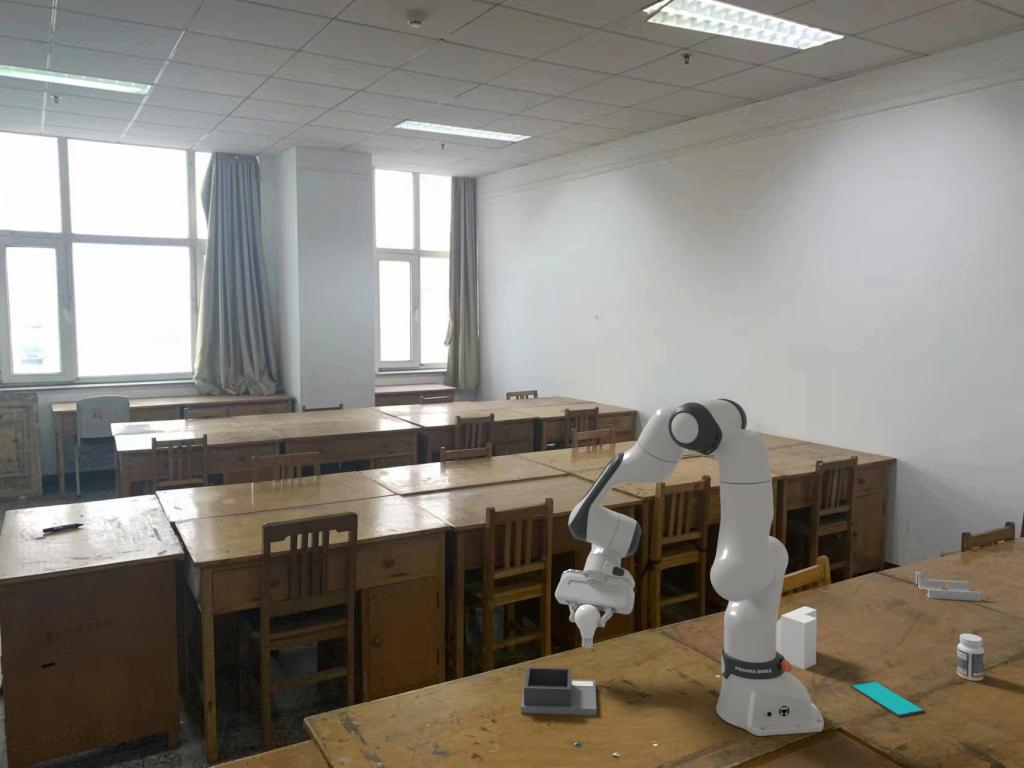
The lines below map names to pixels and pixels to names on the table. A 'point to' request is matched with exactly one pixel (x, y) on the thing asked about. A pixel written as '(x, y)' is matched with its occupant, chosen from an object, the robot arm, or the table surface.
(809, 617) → the white notched block
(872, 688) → the smartphone
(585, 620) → the lightbulb
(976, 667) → the pill bottle
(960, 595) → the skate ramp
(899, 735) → the table surface
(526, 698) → the socket board
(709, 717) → the table surface
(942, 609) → the table surface
